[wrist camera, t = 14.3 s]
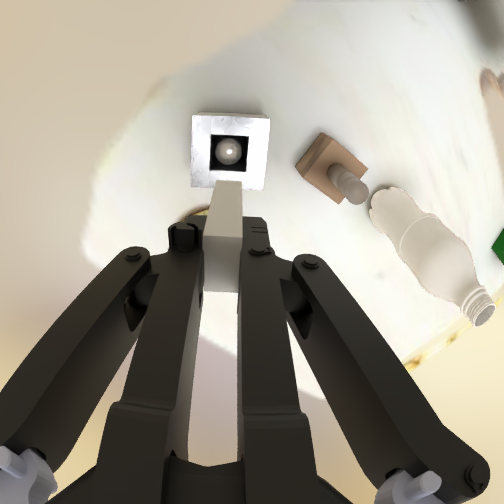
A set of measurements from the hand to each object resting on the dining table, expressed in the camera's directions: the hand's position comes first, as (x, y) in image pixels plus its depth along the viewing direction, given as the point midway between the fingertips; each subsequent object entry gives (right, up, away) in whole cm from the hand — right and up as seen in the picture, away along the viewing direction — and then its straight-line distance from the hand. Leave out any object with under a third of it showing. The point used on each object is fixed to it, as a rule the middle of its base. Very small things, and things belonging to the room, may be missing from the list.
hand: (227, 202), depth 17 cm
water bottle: (+22, +4, +24) cm, 33 cm away
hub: (-1, +11, +18) cm, 21 cm away
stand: (+11, +9, +20) cm, 25 cm away
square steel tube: (-1, +10, +17) cm, 19 cm away
